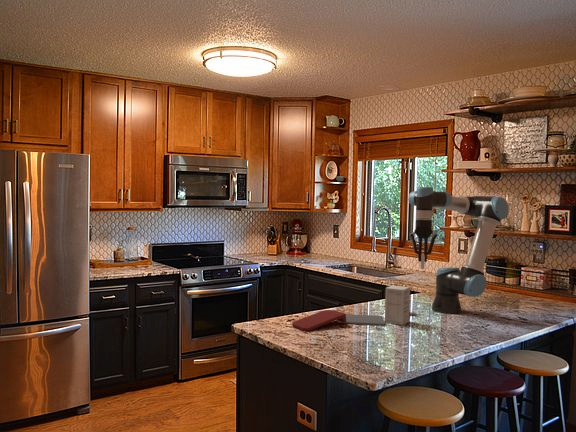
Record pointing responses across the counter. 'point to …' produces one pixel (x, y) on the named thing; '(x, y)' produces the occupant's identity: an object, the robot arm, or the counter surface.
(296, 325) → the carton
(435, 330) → the counter surface
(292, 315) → the counter surface
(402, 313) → the supplement box
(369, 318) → the mat
